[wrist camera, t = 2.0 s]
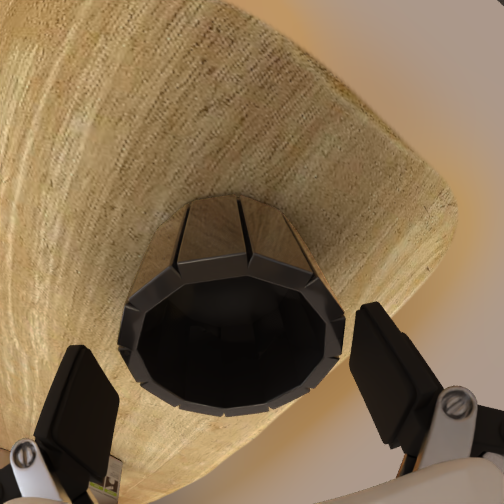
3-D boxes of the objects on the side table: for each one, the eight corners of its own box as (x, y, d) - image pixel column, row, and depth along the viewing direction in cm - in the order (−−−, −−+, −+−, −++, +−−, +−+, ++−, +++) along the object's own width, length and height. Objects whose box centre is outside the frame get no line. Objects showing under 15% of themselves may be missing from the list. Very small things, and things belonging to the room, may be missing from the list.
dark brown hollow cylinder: (130, 209, 12) (82, 277, 7) (300, 182, 12) (352, 236, 8) (177, 352, 16) (170, 435, 11) (305, 334, 17) (332, 413, 12)
